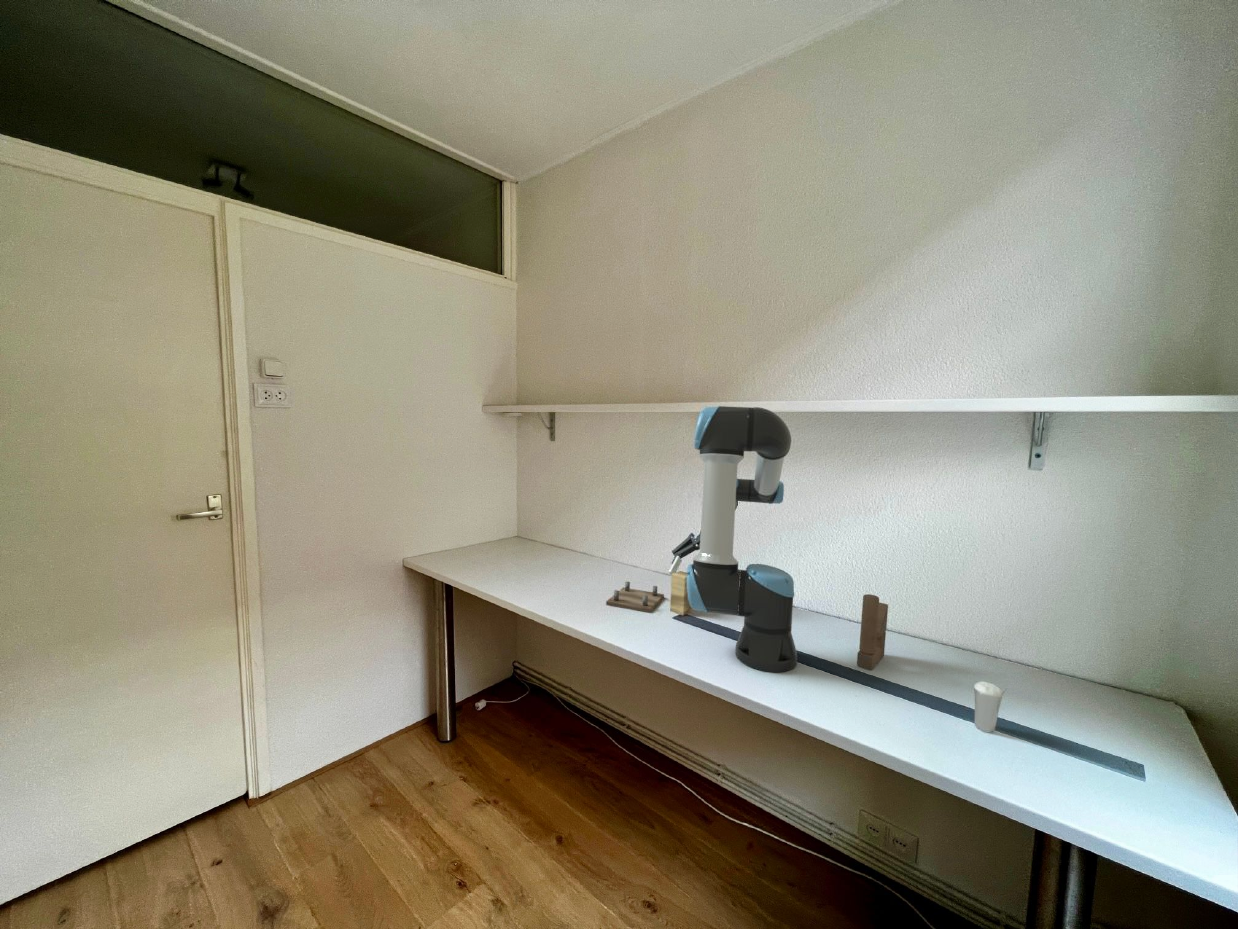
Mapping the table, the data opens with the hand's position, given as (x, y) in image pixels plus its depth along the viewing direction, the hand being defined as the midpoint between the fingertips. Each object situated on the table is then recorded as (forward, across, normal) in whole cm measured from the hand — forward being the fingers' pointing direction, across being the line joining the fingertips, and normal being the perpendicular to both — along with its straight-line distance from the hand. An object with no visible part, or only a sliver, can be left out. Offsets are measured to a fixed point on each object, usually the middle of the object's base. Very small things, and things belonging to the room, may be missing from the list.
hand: (687, 579), depth 158 cm
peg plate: (+12, +15, -1) cm, 19 cm away
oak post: (+9, -1, -4) cm, 10 cm away
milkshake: (+14, -80, 0) cm, 81 cm away
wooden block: (+4, -54, -10) cm, 55 cm away
